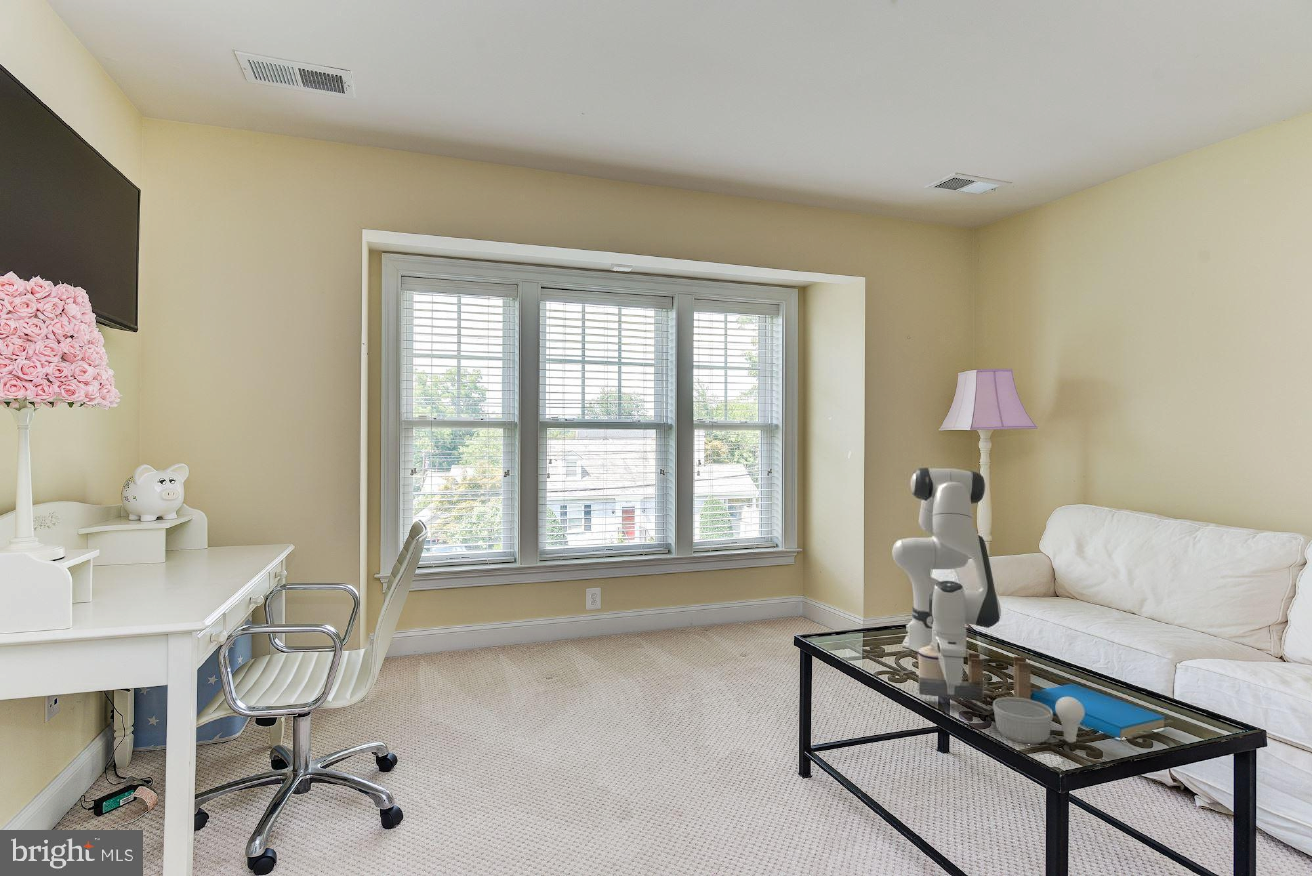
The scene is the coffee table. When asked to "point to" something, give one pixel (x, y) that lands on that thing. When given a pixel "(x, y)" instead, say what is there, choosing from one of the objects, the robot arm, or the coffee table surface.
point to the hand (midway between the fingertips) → (949, 690)
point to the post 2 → (1022, 678)
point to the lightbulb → (1069, 716)
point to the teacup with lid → (929, 663)
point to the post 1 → (975, 669)
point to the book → (1102, 710)
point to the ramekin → (1022, 719)
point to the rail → (940, 689)
